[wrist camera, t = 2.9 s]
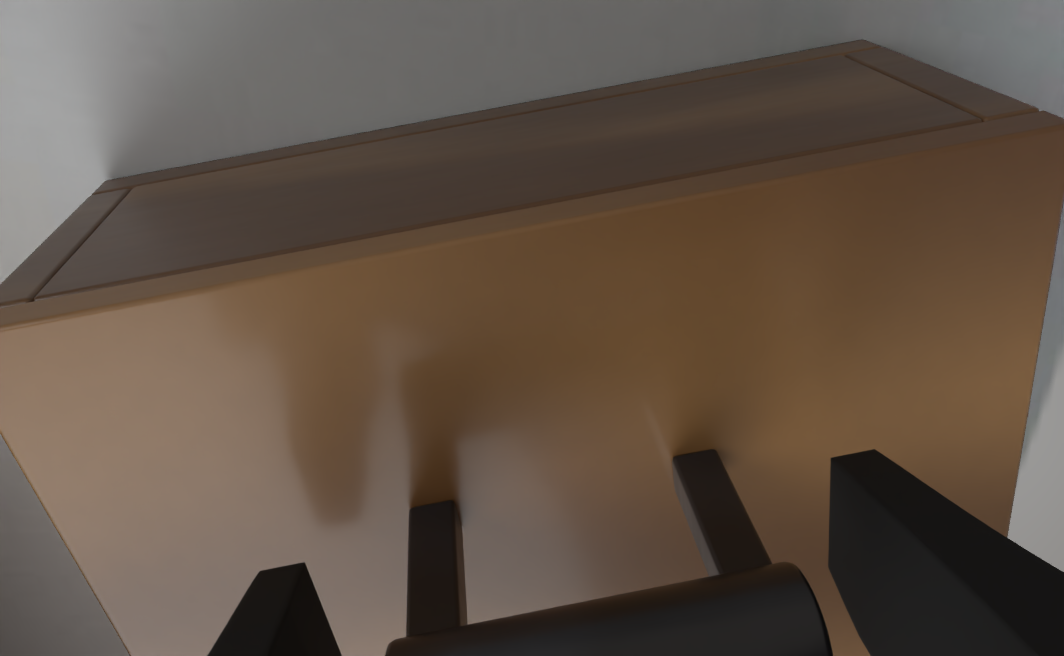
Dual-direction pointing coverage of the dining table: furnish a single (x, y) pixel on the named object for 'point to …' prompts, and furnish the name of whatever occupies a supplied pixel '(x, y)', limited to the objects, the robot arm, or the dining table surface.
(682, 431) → the brown box
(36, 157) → the dining table surface
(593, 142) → the wooden tray
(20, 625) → the dining table surface
